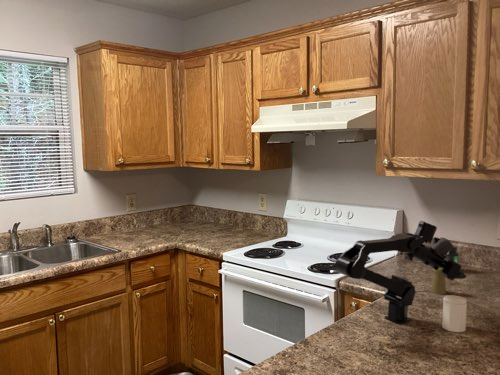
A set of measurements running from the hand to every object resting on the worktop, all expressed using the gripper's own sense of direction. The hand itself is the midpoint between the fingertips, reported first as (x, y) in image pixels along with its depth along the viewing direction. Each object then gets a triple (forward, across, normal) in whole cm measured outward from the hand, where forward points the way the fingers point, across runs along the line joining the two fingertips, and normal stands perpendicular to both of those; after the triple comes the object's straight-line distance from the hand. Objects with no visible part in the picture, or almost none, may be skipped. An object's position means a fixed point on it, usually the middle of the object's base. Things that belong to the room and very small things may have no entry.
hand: (457, 272), depth 162 cm
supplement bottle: (+35, +48, +4) cm, 60 cm away
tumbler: (-1, -14, +16) cm, 22 cm away
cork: (+13, +20, +12) cm, 27 cm away
